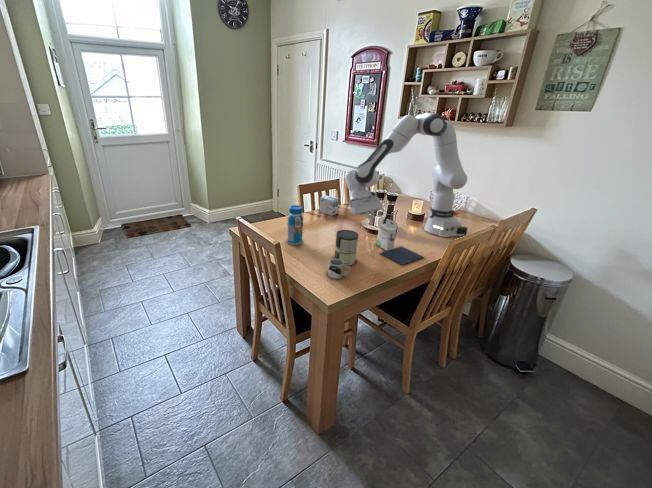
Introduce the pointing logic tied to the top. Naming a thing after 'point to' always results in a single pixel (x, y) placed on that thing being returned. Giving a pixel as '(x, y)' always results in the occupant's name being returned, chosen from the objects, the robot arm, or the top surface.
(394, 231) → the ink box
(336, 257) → the coffee can
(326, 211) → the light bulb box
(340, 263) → the mug
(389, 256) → the mat
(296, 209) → the beverage bottle
